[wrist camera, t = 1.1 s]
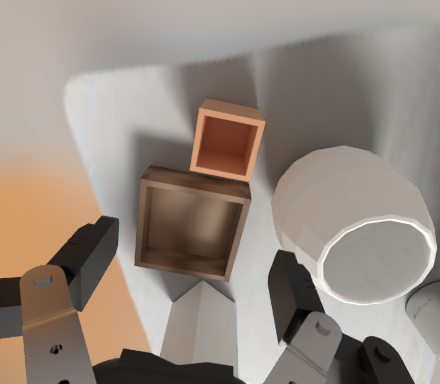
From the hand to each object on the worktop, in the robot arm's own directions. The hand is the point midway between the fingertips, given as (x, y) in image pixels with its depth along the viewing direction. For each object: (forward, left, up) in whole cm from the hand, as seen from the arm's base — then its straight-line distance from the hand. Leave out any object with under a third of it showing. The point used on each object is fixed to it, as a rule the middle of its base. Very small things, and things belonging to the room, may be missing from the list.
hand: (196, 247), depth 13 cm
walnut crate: (+1, +10, -19) cm, 21 cm away
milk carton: (-3, +25, -19) cm, 32 cm away
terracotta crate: (-1, -2, -19) cm, 19 cm away
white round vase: (-14, +3, -19) cm, 24 cm away
